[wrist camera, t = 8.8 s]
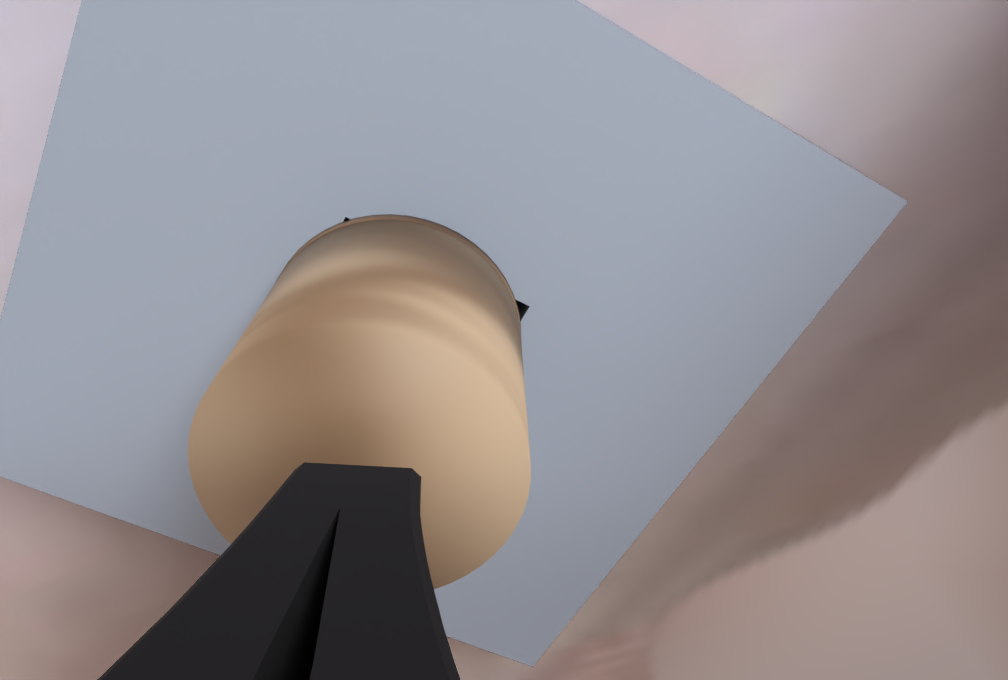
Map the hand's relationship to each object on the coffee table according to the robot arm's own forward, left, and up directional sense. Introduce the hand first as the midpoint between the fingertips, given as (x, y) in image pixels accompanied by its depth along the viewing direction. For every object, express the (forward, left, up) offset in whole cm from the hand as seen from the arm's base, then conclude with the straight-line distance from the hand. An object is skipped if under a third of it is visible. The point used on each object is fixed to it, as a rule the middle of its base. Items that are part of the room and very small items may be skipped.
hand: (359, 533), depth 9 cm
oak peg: (0, +2, -10) cm, 10 cm away
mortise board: (0, +2, -10) cm, 11 cm away
